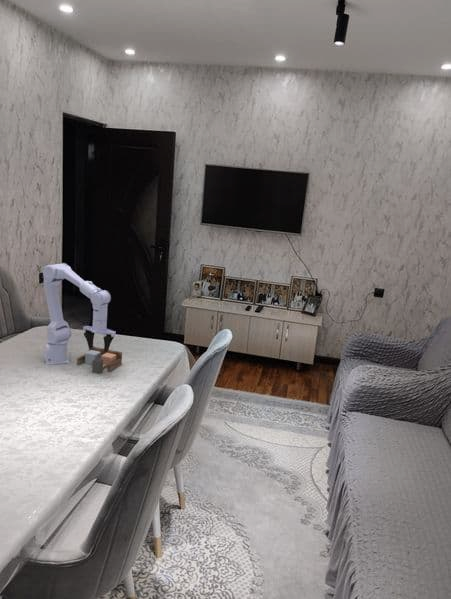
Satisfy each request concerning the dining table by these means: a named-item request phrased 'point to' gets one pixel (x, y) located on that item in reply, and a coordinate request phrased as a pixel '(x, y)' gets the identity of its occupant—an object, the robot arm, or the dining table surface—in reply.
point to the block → (91, 356)
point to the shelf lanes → (111, 365)
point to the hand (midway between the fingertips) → (98, 349)
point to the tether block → (102, 362)
